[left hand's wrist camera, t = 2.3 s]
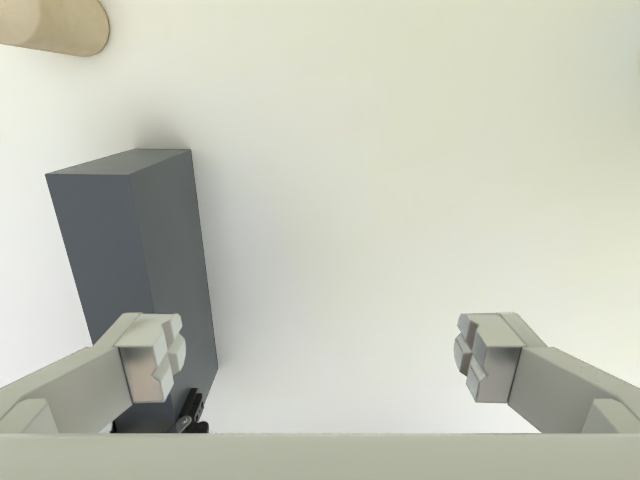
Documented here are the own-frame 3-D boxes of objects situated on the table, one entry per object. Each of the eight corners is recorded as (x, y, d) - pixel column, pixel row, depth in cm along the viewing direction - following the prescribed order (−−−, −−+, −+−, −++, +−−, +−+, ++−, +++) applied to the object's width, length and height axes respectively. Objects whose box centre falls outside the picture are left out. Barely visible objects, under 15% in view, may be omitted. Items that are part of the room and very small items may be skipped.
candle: (114, 59, 33) (31, 45, 24) (53, 54, 33) (-53, 38, 24) (105, -12, 31) (10, -58, 22) (40, -18, 31) (-82, -66, 22)
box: (134, 148, 36) (44, 174, 25) (190, 149, 36) (127, 174, 25) (174, 367, 47) (124, 457, 35) (218, 368, 47) (182, 458, 35)
